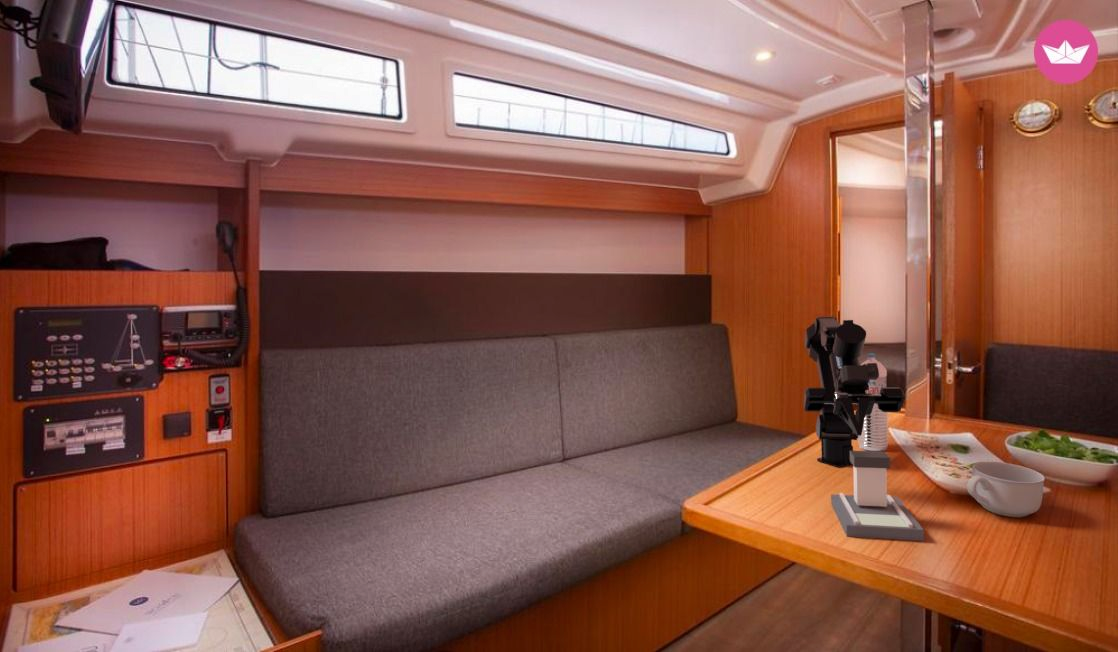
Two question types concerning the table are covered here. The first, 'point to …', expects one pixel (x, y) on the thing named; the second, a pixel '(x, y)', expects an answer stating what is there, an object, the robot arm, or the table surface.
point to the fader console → (876, 519)
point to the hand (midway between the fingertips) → (859, 434)
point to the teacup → (1006, 488)
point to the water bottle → (875, 414)
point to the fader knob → (870, 477)
